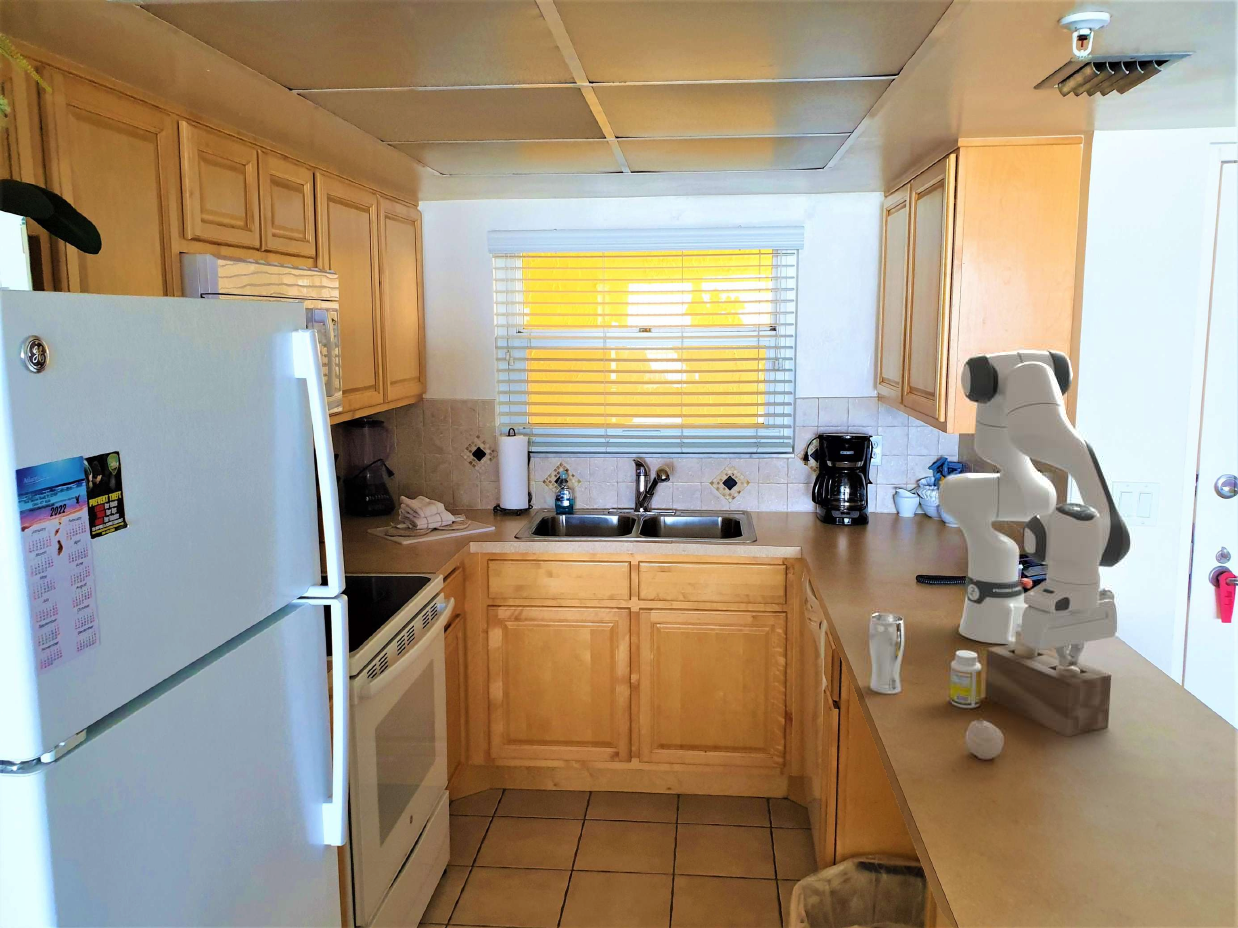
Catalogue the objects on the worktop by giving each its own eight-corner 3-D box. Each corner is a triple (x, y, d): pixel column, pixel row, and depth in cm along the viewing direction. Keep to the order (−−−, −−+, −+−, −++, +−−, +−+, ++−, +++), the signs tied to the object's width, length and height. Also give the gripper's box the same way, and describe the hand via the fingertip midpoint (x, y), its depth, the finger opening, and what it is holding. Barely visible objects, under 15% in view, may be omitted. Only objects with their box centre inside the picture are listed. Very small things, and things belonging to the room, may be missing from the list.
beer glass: (861, 689, 188) (863, 618, 186) (877, 679, 193) (879, 610, 191) (893, 697, 183) (895, 625, 181) (909, 687, 188) (911, 617, 186)
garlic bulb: (955, 751, 159) (957, 708, 158) (983, 744, 162) (985, 701, 161) (984, 767, 153) (986, 722, 152) (1013, 760, 156) (1015, 715, 155)
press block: (1023, 688, 187) (1025, 641, 185) (1108, 726, 168) (1111, 674, 167) (984, 696, 183) (986, 648, 182) (1067, 736, 164) (1070, 683, 163)
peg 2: (1064, 709, 173) (1067, 663, 172) (1082, 717, 170) (1085, 670, 168) (1048, 713, 172) (1051, 667, 171) (1066, 721, 168) (1068, 674, 167)
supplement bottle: (971, 697, 183) (973, 647, 181) (985, 708, 177) (987, 657, 176) (944, 698, 182) (946, 649, 181) (957, 710, 177) (959, 659, 175)
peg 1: (1024, 672, 182) (1026, 628, 181) (1040, 679, 178) (1042, 634, 177) (1009, 675, 181) (1011, 631, 179) (1024, 682, 177) (1027, 637, 176)
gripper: (1099, 582, 174) (1095, 652, 176) (1016, 595, 167) (1013, 668, 169) (1128, 590, 168) (1124, 662, 171) (1044, 605, 161) (1040, 680, 163)
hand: (1068, 665), depth 170 cm, fingers closed
